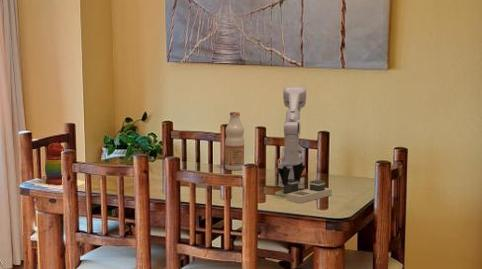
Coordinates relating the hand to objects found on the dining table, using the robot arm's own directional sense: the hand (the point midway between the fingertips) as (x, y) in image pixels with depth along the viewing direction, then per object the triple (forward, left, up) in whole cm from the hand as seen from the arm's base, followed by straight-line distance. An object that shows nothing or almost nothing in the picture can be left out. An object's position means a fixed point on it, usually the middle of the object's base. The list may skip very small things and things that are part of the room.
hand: (290, 183), depth 284 cm
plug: (0, 0, -5) cm, 5 cm away
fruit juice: (-57, +25, -5) cm, 63 cm away
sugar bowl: (-27, +32, -6) cm, 42 cm away
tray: (0, 0, -5) cm, 5 cm away
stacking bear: (-89, -55, -5) cm, 105 cm away
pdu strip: (+9, +1, -5) cm, 10 cm away
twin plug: (+9, +6, -5) cm, 12 cm away
